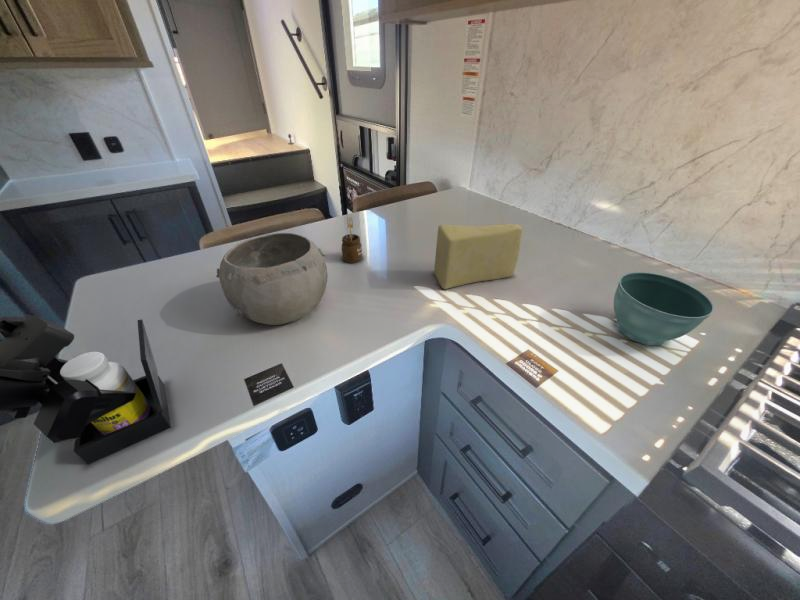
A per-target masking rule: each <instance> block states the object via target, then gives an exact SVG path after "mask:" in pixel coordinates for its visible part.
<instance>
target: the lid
mask: <svg viewBox="0 0 800 600" xmlns="http://www.w3.org/2000/svg"><path fill="white" fill-rule="evenodd" d="M143 320H144V319H137V331H138V344H139V354H140V355H139V357H140V362H141V366H142V369H143V372H144V376H146V378H147V381H148V384H149V387H150V390H151V393H152V397H153V400H154V403H155V406H156V409H157V412H158V413H160V412H163V410H162V403H161V395H160V387H159V380H158V376H159V373H158V372H159V371H158V367H157V365H156V361H155V357H154V355H153V351H152V348H151V344H150V341H149V337H148V334H147V331H146V328H145V324H144V321H143Z"/></svg>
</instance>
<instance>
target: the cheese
mask: <svg viewBox="0 0 800 600" xmlns="http://www.w3.org/2000/svg"><path fill="white" fill-rule="evenodd" d="M522 237H523V228H522V226H521V225H519V224H513V223H508V224H507V223H506V224H495V225H494V224H493V225H492V224H491V225H455V224H439V225H438V227H437V236H436V247H435V259H434V271H433V273H434V276H435V278H436V280H437V282H438V284H439V286H440V287H441V289H443V290H447V289H453V288H457V287H459V286H464V285H468V284H473V283H478V282H486V281H494V280H500V279H504V278H511V277H513V275H514V273H515V269H516V266H517V264H518V260H519V256H520V250H521V244H522Z"/></svg>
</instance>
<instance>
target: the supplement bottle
mask: <svg viewBox="0 0 800 600" xmlns="http://www.w3.org/2000/svg"><path fill="white" fill-rule="evenodd" d="M67 361H68V362H67V363H66V364H64V366H63V367H62V368H61V370H60V374H61V376H62V377H63V378H64V379H65V380H74V379H76V380H80V381H85V380H86V379H88V380H89V381H90V382H92V383H93V384H94V385H96V386H97V387H98V388H99V389H101V390H115V391H127V392H134V393H136V395H135V398H134V400H132V401H131V402H129V403H127V404H125V405H123V406H121V407H119V408H117V409H115V410H113V411H111V412H109V413H107V414H105V415H103V416H101V417H99V418H98V419H96V420H94V421H93V422H91V423H92V424H93V425H94V426H95V427H96V428H97V429H98V430H99V431H100V432H101V433H102V434H103V435H107V434H109V433H111V432H114V431H116V430H118V429H121V428H123V427H126V426H128V425H130V424H133V423H135V422H137V421H140V420H142V419H144V418H147V417H148V415H149V413H150V409H151V408H150V404H149V402H148V400H147V399H146V398H145V396H144V395H143V393H142V392H141V391H140V389H139V388H138V386H137V385H136V384H135V382H134V381H133V380H134V379H133V378H132V376H130V374H129V373H128V371H127V370H126V368H125V367H124V365H122V364H120V363H118V362H115V361H109V359H108V358H107V357H106V355H105V354H104V353H102V352H100V351H89V352H85V353H82V354H79V355H77V356H75V357H73V358H71V359H70V360H67Z"/></svg>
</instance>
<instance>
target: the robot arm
mask: <svg viewBox="0 0 800 600" xmlns="http://www.w3.org/2000/svg"><path fill="white" fill-rule="evenodd" d="M0 336H1V337H2V338H3V339H0V413H1V414H2V413H3V414H4V413H8V414H9V415H10V416H11V418H13V419H23V418H27V416H28V414H29V412H30V411H31V408H34V407H36V406H37V405H38V404H40V405H41V406H40V409H39V410H38V413H37V415H36V417H35V419H34V421H33V425H34V426H35V427H36V428H37V429H38V430H39V431H40V432H41V433H42V434H43V435H44V436H45V437H46V438H47V439H48V440H49V441H51V442H52V444H59V443H66V442H71V441H75V440H76V439H78V438H79V437H80V435H81V432H82V431H83V430H84V428H85V426H86V425H88V424H89V423H91V422H93V421H94V420H96V419H98V418H99V417H101V416H103V415H105V414H107V413H109V412H111V411H113V410H115V409H117V408H119V407H121V406H123V405H125V404H127V403H129V402H131V401H132V400H134V398H135V395H136V393H134V392H127V391H115V390H101V389H99V388H98V387H97V386H96V385H94V384H93V383H92V382H90V381H89V380H88V379H86V380H85V381H80V380H76V379H74V380H65V379H64V378H63V377H62V376H61V374H60V370H61V368H62V367H63V366H64V364H66V363H67V362H68V361H69V360H66V359H62V358H58V357H56V356H58V354H60V352H61V351H63V349H65V348H66V347H69V346H70V345H71V344H72V343H73V341H74V340H75V334H74V333H72V332H70V331H69V330H67V329H66V328H65V327H64V326H61V325H59V324H56V323H54V322H52V321H50V320H47V319H45V318H42V317H41V316H40V315H29V314H26V315H24V316H2V317H1V318H0Z"/></svg>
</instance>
